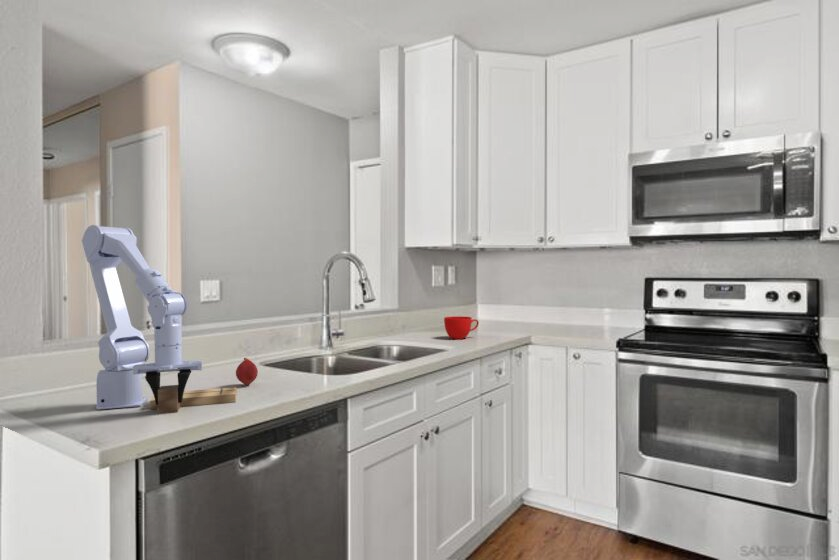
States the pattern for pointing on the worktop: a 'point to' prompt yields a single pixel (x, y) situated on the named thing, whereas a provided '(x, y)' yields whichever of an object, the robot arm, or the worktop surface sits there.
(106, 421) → the worktop surface
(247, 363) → the onion
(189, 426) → the worktop surface
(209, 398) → the board
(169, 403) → the brown wooden block
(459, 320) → the ceramic cup
